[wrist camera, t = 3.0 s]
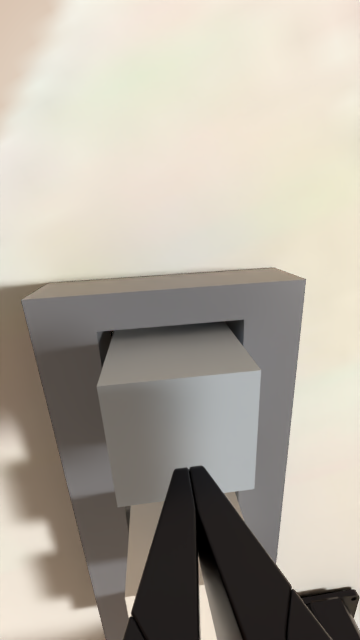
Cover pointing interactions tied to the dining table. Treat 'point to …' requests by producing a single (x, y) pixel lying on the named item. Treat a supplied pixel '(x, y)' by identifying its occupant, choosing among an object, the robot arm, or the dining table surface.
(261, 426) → the grey slotted tray
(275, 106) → the dining table surface
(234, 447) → the light grey cube
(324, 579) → the dining table surface
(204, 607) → the cream key
